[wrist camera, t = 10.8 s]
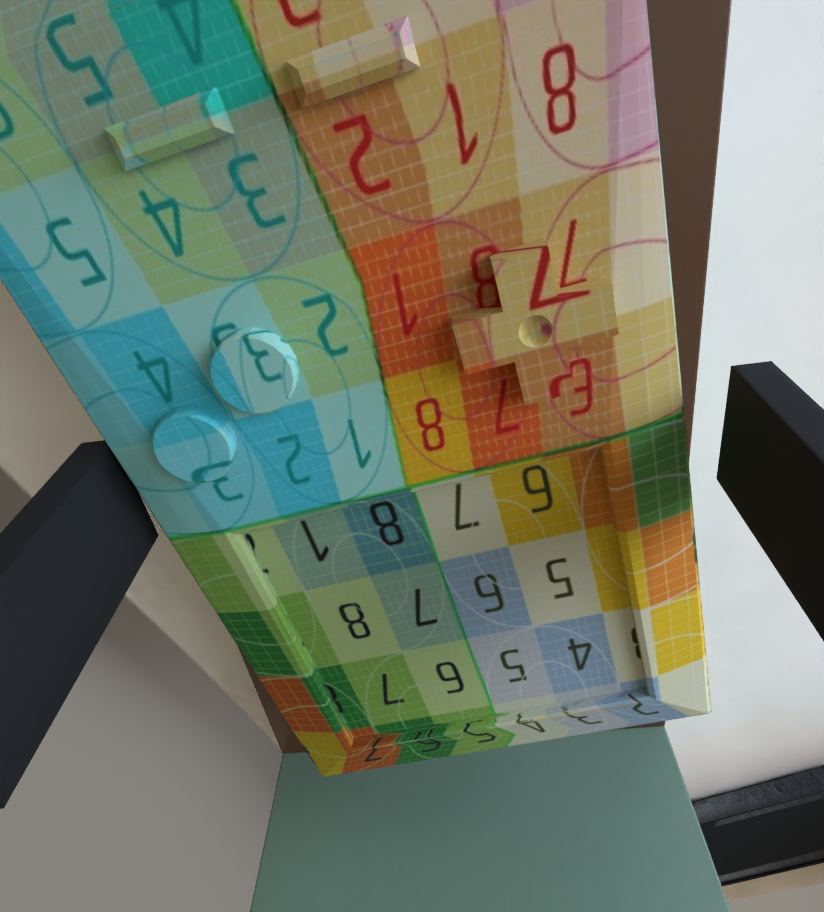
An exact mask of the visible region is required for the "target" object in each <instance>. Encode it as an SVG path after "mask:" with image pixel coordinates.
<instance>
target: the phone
mask: <svg viewBox="0 0 824 912" xmlns="http://www.w3.org/2000/svg"><path fill="white" fill-rule="evenodd" d="M692 805H693V808H694V810H695V813H696V816H697V819H698V822H699V824H700V827H701V830H702V833H703V835H704V838H705V841H706V844H707V847H708V849H709V852H710V855H711V858H712V861H713V863H714V866H715V869H716V872H717V875H718V877H719V880H720V883H721V886H726V885H730V884H734V883H739V882H743V881H747V880H751V879H756V878H760V877H764V876H768V875H773V874H777V873H781V872H786V871H790V870H794V869H798V868H803V867H807V866H811V865H815V864H820V863H824V767H821V768H817V769H814V770H810V771H806V772H803V773H799V774H795V775H792V776H788V777H784V778H781V779H777V780H773V781H770V782H766V783H763V784H759V785H755V786H752V787H748V788H744V789H741V790H737V791H733V792H730V793H726V794H723V795H719V796H715V797H712V798H708V799H704V800H701V801H697V802H694V803H692Z"/></svg>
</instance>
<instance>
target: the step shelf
mask: <svg viewBox="0 0 824 912" xmlns="http://www.w3.org/2000/svg"><path fill="white" fill-rule="evenodd" d="M646 1H647V12H648V23H649V34H650V45H651V56H652V67H653V78H654V89H655V100H656V111H657V122H658V133H659V144H660V155H661V166H662V177H663V188H664V199H665V210H666V221H667V232H668V243H669V254H670V265H671V276H672V287H673V298H674V309H675V320H676V331H677V342H678V353H679V364H680V374H681V385H682V396H683V407H684V418H685V429H686V440H687V451H688V462H689V456H690V445H691V435H692V424H693V413H694V402H695V391H696V381H697V370H698V359H699V348H700V337H701V327H702V316H703V305H704V294H705V283H706V272H707V262H708V251H709V240H710V229H711V218H712V208H713V197H714V186H715V175H716V164H717V153H718V143H719V132H720V121H721V110H722V99H723V89H724V78H725V67H726V56H727V45H728V34H729V24H730V13H731V2H732V0H646ZM238 648H239V647H238ZM239 650H240V648H239ZM240 652H241V655H242V657H243V660H244V662H245V664H246V667H247V669H248V672H249V674H250V676H251V679H252V681H253V684H254V686H255V688H256V691H257V693H258V696H259V698H260V700H261V703H262V705H263V708H264V710H265V712H266V715H267V717H268V720H269V722H270V724H271V727H272V729H273V731H274V734H275V736H276V739H277V741H278V743H279V746H280V748H281V751H282V753H283V757H282V762H281V767H280V772H279V777H278V781H277V786H276V791H275V795H274V800H273V805H272V810H271V815H270V819H269V824H268V829H267V834H266V839H265V843H264V848H263V853H262V857H261V862H260V867H259V872H258V877H257V881H256V886H255V891H254V896H253V901H252V905H251V910H250V912H731V911H730V908H729V905H728V902H727V900H726V897H725V894H724V891H723V889H722V886H721V883H720V880H719V877H718V875H717V872H716V869H715V866H714V863H713V861H712V858H711V855H710V852H709V849H708V847H707V844H706V841H705V838H704V835H703V833H702V830H701V827H700V824H699V822H698V819H697V816H696V813H695V810H694V808H693V805H692V802H691V799H690V796H689V794H688V791H687V788H686V785H685V782H684V780H683V777H682V774H681V771H680V769H679V766H678V763H677V760H676V757H675V755H674V752H673V749H672V746H671V743H670V741H669V738H668V735H667V732H666V729H665V727H664V725H665V721H660V722H654V723H648V724H642V725H636V726H630V727H624V728H618V729H611V730H605V731H599V732H593V733H587V734H581V735H575V736H569V737H563V738H557V739H551V740H545V741H539V742H533V743H526V744H520V745H514V746H508V747H502V748H496V749H490V750H484V751H478V752H472V753H466V754H460V755H454V756H448V757H442V758H435V759H429V760H423V761H417V762H411V763H405V764H399V765H393V766H387V767H381V768H375V769H369V770H363V771H357V772H350V773H344V774H338V775H332V776H326V777H323V776H322V775H321V773H320V772H319V770H318V769H317V767H316V766H315V764H314V762H313V761H312V759H311V758H310V756H309V755H308V753H307V752H306V750H305V749H304V747H303V745H302V744H301V742H300V741H299V739H298V738H297V736H296V735H295V733H294V732H293V730H292V728H291V727H290V725H289V724H288V722H287V721H286V719H285V718H284V716H283V715H282V713H281V711H280V710H279V708H278V707H277V705H276V704H275V702H274V701H273V699H272V698H271V696H270V695H269V693H268V691H267V690H266V688H265V687H264V685H263V684H262V682H261V681H260V679H259V678H258V676H257V674H256V673H255V671H254V670H253V668H252V667H251V665H250V664H249V662H248V661H247V659H246V657H245V656H244V654H243V653H242V651H241V650H240Z"/></svg>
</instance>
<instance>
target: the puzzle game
mask: <svg viewBox="0 0 824 912" xmlns="http://www.w3.org/2000/svg"><path fill="white" fill-rule="evenodd" d="M0 279H1V281H2V282H3V284H4V285H5V287H6V288H7V290H8V291H9V293H10V294H11V296H12V298H13V299H14V301H15V302H16V304H17V305H18V307H19V308H20V310H21V311H22V313H23V315H24V316H25V318H26V319H27V321H28V322H29V324H30V325H31V327H32V328H33V330H34V331H35V333H36V335H37V336H38V338H39V339H40V341H41V342H42V344H43V345H44V347H45V348H46V350H47V352H48V353H49V355H50V356H51V358H52V359H53V361H54V362H55V364H56V365H57V367H58V369H59V370H60V372H61V373H62V375H63V376H64V378H65V379H66V381H67V382H68V384H69V386H70V387H71V389H72V390H73V392H74V393H75V395H76V396H77V398H78V399H79V401H80V403H81V404H82V406H83V407H84V409H85V410H86V412H87V413H88V415H89V416H90V418H91V420H92V421H93V423H94V424H95V426H96V427H97V429H98V430H99V432H100V433H101V435H102V437H103V438H104V440H105V441H106V443H107V444H108V446H109V447H110V449H111V450H112V452H113V454H114V455H115V457H116V458H117V460H118V461H119V463H120V464H121V466H122V467H123V469H124V471H125V472H126V474H127V475H128V477H129V478H130V480H131V481H132V483H133V484H134V486H135V488H136V489H137V491H138V492H139V494H140V495H141V497H142V498H143V500H144V501H145V503H146V505H147V506H148V508H149V509H150V511H151V512H152V514H153V515H154V517H155V518H156V520H157V521H158V523H159V525H160V526H161V528H162V529H163V531H164V532H165V534H166V535H167V537H168V538H169V540H170V542H171V543H172V545H173V546H174V548H175V549H176V551H177V552H178V554H179V555H180V557H181V559H182V560H183V562H184V563H185V565H186V566H187V568H188V569H189V571H190V572H191V574H192V576H193V577H194V579H195V580H196V582H197V583H198V585H199V586H200V588H201V589H202V591H203V593H204V594H205V596H206V597H207V599H208V600H209V602H210V603H211V605H212V606H213V608H214V610H215V611H216V613H217V614H218V616H219V617H220V619H221V620H222V622H223V623H224V625H225V627H226V628H227V630H228V631H229V633H230V634H231V636H232V637H233V639H234V640H235V642H236V644H237V645H238V647H239V648H240V650H241V651H242V653H243V654H244V656H245V657H246V659H247V661H248V662H249V664H250V665H251V667H252V668H253V670H254V671H255V673H256V674H257V676H258V678H259V679H260V681H261V682H262V684H263V685H264V687H265V688H266V690H267V691H268V693H269V695H270V696H271V698H272V699H273V701H274V702H275V704H276V705H277V707H278V708H279V710H280V711H281V713H282V715H283V716H284V718H285V719H286V721H287V722H288V724H289V725H290V727H291V728H292V730H293V732H294V733H295V735H296V736H297V738H298V739H299V741H300V742H301V744H302V745H303V747H304V749H305V750H306V752H307V753H308V755H309V756H310V758H311V759H312V761H313V762H314V764H315V766H316V767H317V769H318V770H319V772H320V773H321V775H322V776H323V777H326V776H332V775H338V774H344V773H350V772H357V771H363V770H369V769H375V768H381V767H387V766H393V765H399V764H405V763H411V762H417V761H423V760H429V759H435V758H442V757H448V756H454V755H460V754H466V753H472V752H478V751H484V750H490V749H496V748H502V747H508V746H514V745H520V744H526V743H533V742H539V741H545V740H551V739H557V738H563V737H569V736H575V735H581V734H587V733H593V732H599V731H605V730H611V729H618V728H624V727H630V726H636V725H642V724H648V723H654V722H660V721H666V720H672V719H678V718H684V717H690V716H696V715H702V714H708V713H710V712H711V704H710V693H709V682H708V671H707V660H706V649H705V638H704V627H703V616H702V605H701V594H700V583H699V572H698V561H697V550H696V539H695V528H694V517H693V506H692V495H691V484H690V473H689V462H688V451H687V440H686V429H685V418H684V407H683V396H682V385H681V374H680V364H679V353H678V342H677V331H676V320H675V309H674V298H673V287H672V276H671V265H670V254H669V243H668V232H667V221H666V210H665V199H664V188H663V177H662V166H661V155H660V144H659V133H658V122H657V111H656V100H655V89H654V78H653V67H652V56H651V45H650V34H649V23H648V12H647V1H646V0H0Z"/></svg>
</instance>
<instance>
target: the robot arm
mask: <svg viewBox="0 0 824 912" xmlns="http://www.w3.org/2000/svg"><path fill="white" fill-rule="evenodd" d="M717 480H718V482H719V483H720V485H721V486H722V488H723V489H724V491H725V492H726V494H727V495H728V497H729V498H730V500H731V501H732V503H733V504H734V506H735V507H736V509H737V510H738V512H739V513H740V515H741V517H742V518H743V520H744V521H745V523H746V524H747V526H748V527H749V529H750V530H751V532H752V533H753V535H754V536H755V538H756V539H757V541H758V542H759V544H760V545H761V547H762V548H763V550H764V551H765V553H766V554H767V556H768V557H769V559H770V560H771V562H772V563H773V565H774V567H775V568H776V570H777V571H778V573H779V574H780V576H781V577H782V579H783V580H784V582H785V583H786V585H787V586H788V588H789V589H790V591H791V592H792V594H793V595H794V597H795V598H796V600H797V601H798V603H799V604H800V606H801V607H802V609H803V610H804V612H805V614H806V615H807V617H808V618H809V620H810V621H811V623H812V624H813V626H814V627H815V629H816V630H817V632H818V633H819V635H820V636H821V638H822V639H823V641H824V409H822V408H821V407H820V406H819V405H818V404H817V403H816V402H815V401H814V400H813V399H812V398H811V397H809V396H808V395H807V394H806V393H805V392H804V391H803V390H802V389H801V388H800V387H799V386H798V385H796V384H795V383H794V382H793V381H792V380H791V379H790V378H789V377H788V376H787V375H786V374H785V373H783V372H782V371H781V370H780V369H779V368H778V367H777V366H776V365H775V364H774V363H773V362H772V361H770V362H761V363H753V364H744V365H736V366H731V372H730V379H729V387H728V395H727V402H726V410H725V418H724V425H723V433H722V441H721V448H720V456H719V464H718V472H717ZM157 537H158V533H157V531H156V529H155V527H154V524H153V522H152V520H151V518H150V516H149V514H148V511H147V509H146V507H145V505H144V503H143V501H142V499H141V496H140V494H139V492H138V491H137V489H136V488H135V486H134V484H133V483H132V481H131V480H130V478H129V477H128V475H127V474H126V472H125V471H124V469H123V467H122V466H121V464H120V463H119V461H118V460H117V458H116V457H115V455H114V454H113V452H112V450H111V449H110V447H109V446H108V444H107V443H106V441H105V440H103V441H95V442H86V443H81V444H80V445H79V446H78V448H77V449H76V450H75V451H74V452H73V453H72V454H71V455H70V457H69V458H68V459H67V460H66V461H65V462H64V463H63V464H62V465H61V467H60V468H59V469H58V470H57V471H56V472H55V473H54V474H53V475H52V477H51V478H50V479H49V480H48V481H47V482H46V483H45V484H44V486H43V487H42V488H41V489H40V490H39V491H38V492H37V493H36V494H35V496H34V497H33V498H32V499H31V500H30V501H29V502H28V504H27V505H26V506H25V507H24V508H23V509H22V510H21V511H20V512H19V514H18V515H17V516H16V517H15V518H14V519H13V520H12V521H11V522H10V524H9V525H8V526H7V527H6V528H5V529H4V530H3V531H2V532H1V534H0V809H1V808H4V807H5V805H6V803H7V801H8V800H9V798H10V796H11V794H12V793H13V791H14V789H15V787H16V785H17V784H18V782H19V780H20V779H21V777H22V775H23V773H24V772H25V769H26V768H27V766H28V764H29V763H30V761H31V759H32V757H33V756H34V754H35V752H36V750H37V749H38V747H39V745H40V743H41V741H42V740H43V738H44V736H45V734H46V732H47V731H48V729H49V727H50V726H51V724H52V722H53V720H54V719H55V717H56V715H57V713H58V712H59V709H60V708H61V706H62V705H63V703H64V701H65V699H66V697H67V696H68V694H69V692H70V690H71V689H72V687H73V685H74V683H75V682H76V680H77V678H78V676H79V675H80V673H81V671H82V669H83V667H84V666H85V664H86V662H87V660H88V659H89V657H90V655H91V653H92V651H93V650H94V648H95V646H96V644H97V643H98V641H99V639H100V637H101V636H102V634H103V632H104V630H105V629H106V627H107V625H108V623H109V622H110V620H111V618H112V616H113V614H114V613H115V611H116V609H117V608H118V606H119V604H120V602H121V600H122V599H123V597H124V595H125V593H126V592H127V590H128V588H129V586H130V585H131V583H132V581H133V579H134V578H135V576H136V574H137V572H138V570H139V569H140V567H141V565H142V563H143V562H144V560H145V558H146V556H147V555H148V553H149V551H150V549H151V548H152V546H153V544H154V542H155V541H156V539H157Z"/></svg>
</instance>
